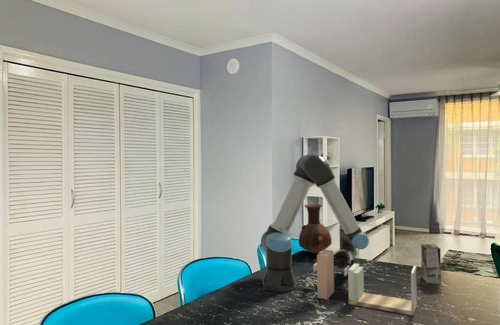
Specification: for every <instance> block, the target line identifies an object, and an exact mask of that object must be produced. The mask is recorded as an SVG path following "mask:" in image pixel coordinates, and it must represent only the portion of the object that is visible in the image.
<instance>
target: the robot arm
mask: <svg viewBox="0 0 500 325" xmlns="http://www.w3.org/2000/svg"><path fill="white" fill-rule="evenodd" d="M292 176H293V182H292V183H291V186H290V188H289V190H288V193H287V194H286V196H285V199H284V200H283V203H282V205H281V208H280V209H279V211H278V214H277V215H276V218H275V219H274V222H273V223H270V224H269V226H268V227H267V229H266V231H265V232H264V233H263V234H262V236H261V237H260V238H261V239H260V246H261V248H262V250H263V252H264V253H265V256H266V260H265V261H266V270H265V273H264V277H263V280H262V287H263V288H264V290H266V291H269V292H275V293H284V292H290V291H294V289H296V288H297V281H296V278H295V275H294V271H293V265H292V264H293V262H292V261H293V255H292V254H293V253H292V251H293V248H292V247H293V242H292V237H291V229H292V226H293V224H294V222H295V220H296V218H297V216H298V214H299V212H300V209H301V207H302V205H303V202H304V201H305V199H306V197H307V194H308V192H309V190H310V188H311V187H313V186H316V188H319V189H320V191H321V193H322V194H323V196H324V198H325V200H326V202H327V204H328V205H329V207H330V209H331V211H332V213H333V214H334V216H335V218H336V220H337V221H338V224H339V229H338V232H339V250H338V251H337V252H336V253H333V254H334V267H336V268H339V269H343V276H345V277H347V275H348V269H349V268H350V267H351V266H352V265H353V264H354V263H355V258H356V257H357V255H358V250H364V249H366V248H368V245H369V244H370V243H369V242H370V239H369V237H368V236H367V235H366V233H364V232H363V231H362V228H361V227H360V226H359V224H358V222H357V220H356V218H355V216H354V214H353V212H352V209H351V208H350V207H349V205H348V203H347V201H346V199H345V198H344V195H343V193H342V192H341V190H340V188H339V186H338V184H337V183H336V181H335V179H336V176H335V174H334V172H333V170H332V169H331V167H330V165H329V163H328V162H327V160H326V158H324V157H323V156H321V155H319V154H305V155H302V156H301V157H300V158H299V159H298V160H297V162H296V165H295V170H294V172H293V175H292ZM312 269H313V272H317V258H316V259H313V260H312Z"/></svg>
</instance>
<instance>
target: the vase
mask: <svg viewBox="0 0 500 325" xmlns="http://www.w3.org/2000/svg"><path fill="white" fill-rule="evenodd" d="M322 207H323V204H322V203H321V204H320V203H309V204H305V205H304V208H306V209H307V215H308V217H307V218H308V220H307V221H308V222H307V224H303V225H302V226H301V230H300V233H299V236H298V245H299V247H300V248H301V249H303V250H304V251H307V252H309V253H311V254H313V255H316V254H317V255H318V254H319V253H320V252H322V251H323V250H327V248H329V247H331V245H332V240H333V239H332V235H331V233H330V231H329V230H328V228H327V227H326V226H325V225H323V224H322V223H321V221H320V209H321V208H322Z"/></svg>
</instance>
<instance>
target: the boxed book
mask: <svg viewBox="0 0 500 325" xmlns="http://www.w3.org/2000/svg"><path fill="white" fill-rule="evenodd" d="M334 254H335V253H334V250H333V249H332V250H331V249H325V250H323V251H321V252H320V253H318V254H317V255H316V259H317V270H316V274H317V275H316V278H317V280H316V283H317V286H316V287H317V299H324V300H328V299H329V298H330V297H331V296H332V294H333V293H334V292H335V276H334V275H335V270H334V269H335V268H334V267H335V266H334Z"/></svg>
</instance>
